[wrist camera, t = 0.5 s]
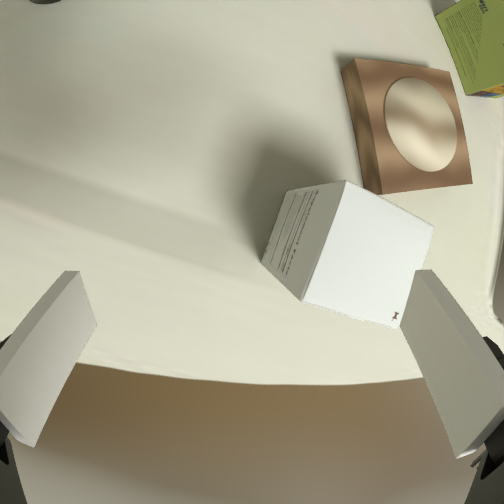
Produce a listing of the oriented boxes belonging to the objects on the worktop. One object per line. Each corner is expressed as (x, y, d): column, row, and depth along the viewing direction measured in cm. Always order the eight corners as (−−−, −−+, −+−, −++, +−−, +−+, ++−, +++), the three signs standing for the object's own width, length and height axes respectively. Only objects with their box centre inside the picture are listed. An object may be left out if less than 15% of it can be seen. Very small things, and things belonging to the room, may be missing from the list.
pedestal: (340, 70, 33) (355, 57, 29) (432, 79, 35) (450, 71, 31) (365, 195, 36) (384, 194, 32) (453, 184, 38) (474, 183, 34)
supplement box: (354, 217, 36) (439, 226, 21) (328, 288, 37) (399, 334, 22) (286, 187, 34) (347, 175, 20) (257, 263, 35) (299, 304, 20)
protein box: (465, 96, 37) (537, 76, 22) (433, 15, 34) (491, -20, 19) (496, 99, 38) (560, 84, 23) (468, 25, 35) (523, -2, 20)
